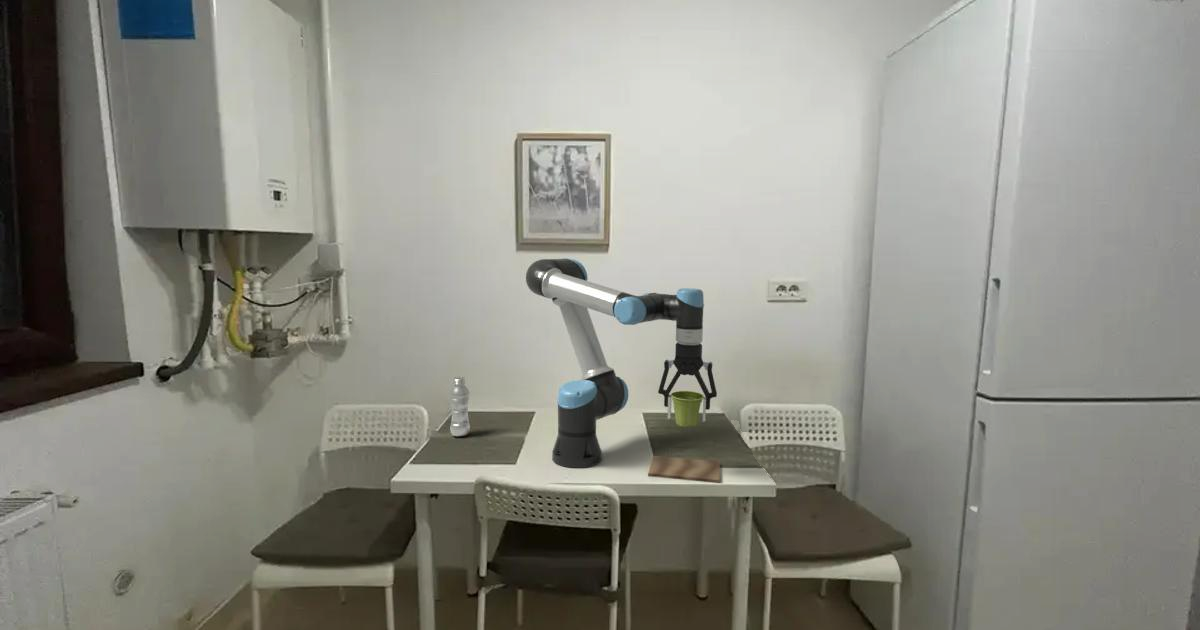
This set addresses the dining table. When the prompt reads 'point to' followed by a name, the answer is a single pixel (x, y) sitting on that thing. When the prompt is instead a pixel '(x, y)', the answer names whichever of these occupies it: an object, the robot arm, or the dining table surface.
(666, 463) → the walnut board
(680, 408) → the plant pot
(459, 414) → the plastic bottle
